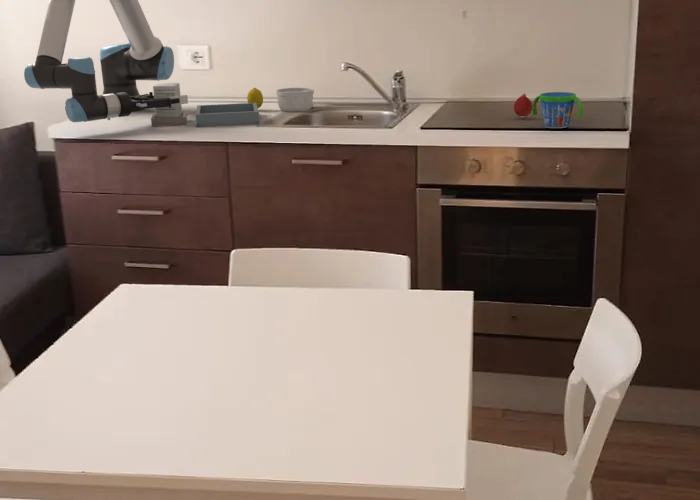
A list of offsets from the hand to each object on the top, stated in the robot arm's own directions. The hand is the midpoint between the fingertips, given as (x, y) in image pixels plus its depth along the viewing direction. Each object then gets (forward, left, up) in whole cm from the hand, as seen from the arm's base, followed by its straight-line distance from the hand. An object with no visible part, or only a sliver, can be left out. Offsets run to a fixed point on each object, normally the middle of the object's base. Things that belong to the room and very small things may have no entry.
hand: (179, 97), depth 291 cm
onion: (+28, +108, -8) cm, 112 cm away
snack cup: (+47, +112, -8) cm, 122 cm away
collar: (+2, -4, -8) cm, 9 cm away
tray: (+3, +15, -8) cm, 17 cm away
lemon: (-16, +25, -8) cm, 31 cm away
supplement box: (+2, -4, -8) cm, 9 cm away
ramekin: (-14, +39, -8) cm, 42 cm away
